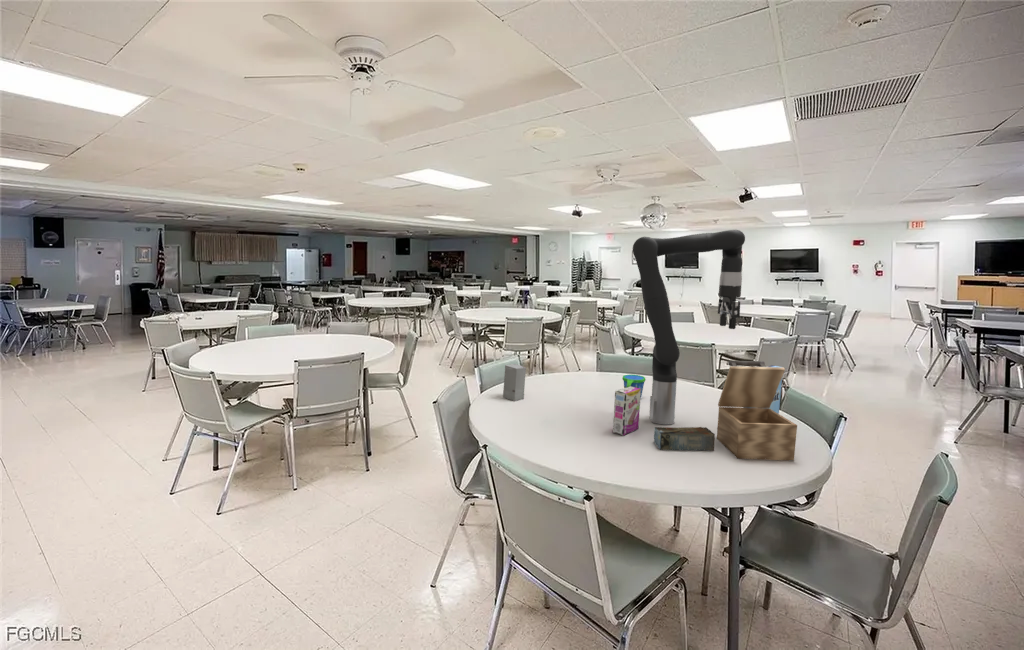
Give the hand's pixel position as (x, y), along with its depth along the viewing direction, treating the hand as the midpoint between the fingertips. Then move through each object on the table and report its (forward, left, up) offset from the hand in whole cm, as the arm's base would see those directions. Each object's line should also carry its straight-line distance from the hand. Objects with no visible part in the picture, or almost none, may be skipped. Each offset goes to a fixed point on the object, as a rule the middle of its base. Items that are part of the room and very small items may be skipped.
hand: (727, 327), depth 174 cm
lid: (+4, -14, -20) cm, 25 cm away
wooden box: (+4, -19, -40) cm, 45 cm away
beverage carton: (-20, -19, -41) cm, 49 cm away
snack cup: (-25, +42, -40) cm, 63 cm away
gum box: (+19, +8, -40) cm, 45 cm away
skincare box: (-82, +35, -40) cm, 98 cm away
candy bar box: (-37, -5, -40) cm, 55 cm away
